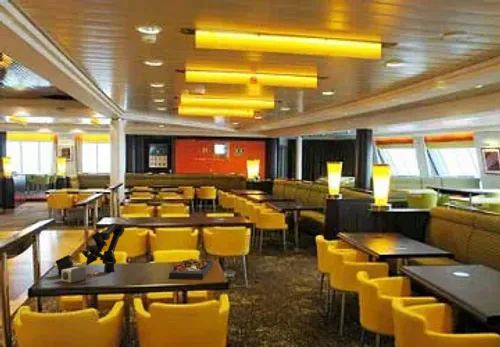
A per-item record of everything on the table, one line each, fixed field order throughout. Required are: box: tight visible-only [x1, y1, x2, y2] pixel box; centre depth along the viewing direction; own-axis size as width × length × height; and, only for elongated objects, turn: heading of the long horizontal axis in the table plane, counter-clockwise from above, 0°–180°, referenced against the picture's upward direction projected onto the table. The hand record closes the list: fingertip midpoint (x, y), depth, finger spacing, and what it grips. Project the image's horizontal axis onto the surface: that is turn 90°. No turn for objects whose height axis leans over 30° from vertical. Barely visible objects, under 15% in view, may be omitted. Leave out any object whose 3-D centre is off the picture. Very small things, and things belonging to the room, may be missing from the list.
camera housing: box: [61, 266, 80, 283], centre depth 350 cm, size 13×10×8 cm
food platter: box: [168, 258, 214, 279], centre depth 378 cm, size 45×25×10 cm, turn 175°
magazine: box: [55, 254, 74, 277], centre depth 364 cm, size 4×13×15 cm, turn 78°
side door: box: [71, 262, 88, 283], centre depth 347 cm, size 11×3×12 cm, turn 146°
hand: (86, 264), depth 352 cm, fingers closed
